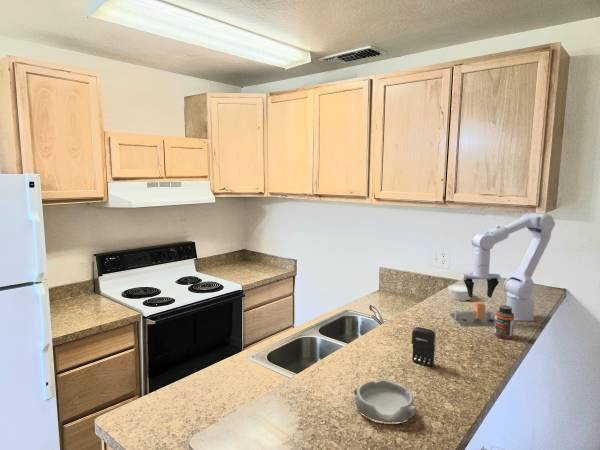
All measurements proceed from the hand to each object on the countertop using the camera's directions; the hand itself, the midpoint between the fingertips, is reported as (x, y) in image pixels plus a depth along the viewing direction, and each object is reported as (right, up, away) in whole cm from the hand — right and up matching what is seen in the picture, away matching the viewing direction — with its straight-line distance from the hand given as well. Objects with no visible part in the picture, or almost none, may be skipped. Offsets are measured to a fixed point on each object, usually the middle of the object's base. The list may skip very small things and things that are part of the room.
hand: (479, 296), depth 154 cm
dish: (-52, -18, -57) cm, 79 cm away
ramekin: (+4, -6, +29) cm, 30 cm away
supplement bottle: (+2, -12, -14) cm, 19 cm away
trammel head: (0, -10, +1) cm, 10 cm away
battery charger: (-34, -15, -34) cm, 50 cm away
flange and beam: (-1, -10, +1) cm, 10 cm away
